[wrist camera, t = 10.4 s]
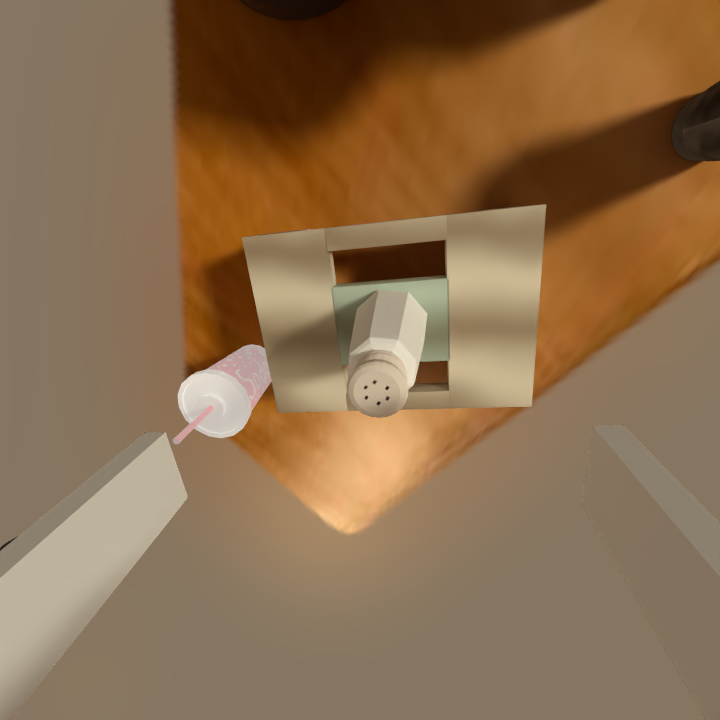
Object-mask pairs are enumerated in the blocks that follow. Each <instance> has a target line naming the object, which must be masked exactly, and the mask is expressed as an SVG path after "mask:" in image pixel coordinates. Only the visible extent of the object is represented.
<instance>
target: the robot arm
mask: <svg viewBox="0 0 720 720" xmlns="http://www.w3.org/2000/svg"><path fill="white" fill-rule="evenodd" d="M241 1H242V2H243V3H244V4H246V5H247V6H249V7H250V8H252V9H254V10H256V11H258V12H260V13H262V14H265V15H268V16H270V17H274V18H279V19H286V20H298V19H306V18H311V17H315V16H318V15H320V14H323V13H325V12H327V11H329V10H331V9H333V8H335V7H336V6H338V5H339V4H341V3H342V2H344V1H345V0H241ZM187 498H188V496H187V493H186V490H185V488H184V485H183V482H182V479H181V476H180V473H179V470H178V468H177V464H176V462H175V459H174V456H173V453H172V450H171V447H170V444H169V441H168V438H167V435H166V433H165V432H154V433H153V432H149V433H144V434H143V435H141V436H140V437H139V438H138V439H137V440H135V441H134V442H133V443H132V444H131V445H129V446H128V447H127V448H126V449H124V450H123V451H122V452H121V453H119V454H118V455H117V456H116V457H115V458H113V459H112V460H111V461H110V462H109V463H107V464H106V465H105V466H104V467H102V468H101V469H100V470H99V471H97V472H96V473H95V474H94V475H93V476H91V477H90V478H89V479H88V480H86V481H85V482H84V483H83V484H82V485H80V486H79V487H78V488H77V489H76V490H74V491H73V492H72V493H71V494H69V495H68V496H67V497H66V498H64V499H63V500H62V501H61V502H60V503H58V504H57V505H56V506H55V507H53V508H52V509H51V510H50V511H49V512H47V513H46V514H45V515H44V516H42V517H41V518H40V519H39V520H37V521H36V522H35V523H34V524H33V525H31V526H30V527H29V528H28V529H27V530H25V531H24V532H23V533H22V534H20V535H19V536H17V537H16V538H14V539H12V540H11V541H9V542H7V543H6V544H4V545H3V546H2V547H1V548H0V720H12V718H13V717H14V716H15V714H16V713H17V712H18V710H19V709H20V708H21V707H22V706H23V704H24V703H25V702H26V701H27V699H28V698H29V697H30V695H31V694H32V693H33V692H34V691H35V689H36V688H37V687H38V686H39V684H40V683H41V681H42V680H43V679H44V678H45V677H46V675H47V674H48V673H49V672H50V670H51V669H52V668H53V667H54V665H55V664H56V663H57V662H58V660H59V659H60V658H61V657H62V655H63V654H64V653H65V652H66V650H67V649H68V648H69V647H70V645H71V644H72V643H73V641H74V640H75V639H76V638H77V636H78V635H79V634H80V632H81V631H82V630H83V629H84V628H85V626H86V625H87V624H88V623H89V621H90V620H91V619H92V618H93V616H94V615H95V614H96V612H97V611H98V610H99V609H100V607H101V606H102V605H103V604H104V602H105V601H106V600H107V598H108V597H109V596H110V595H111V594H112V592H113V591H114V590H115V589H116V587H117V586H118V585H119V583H120V582H121V581H122V580H123V579H124V577H125V576H126V575H127V573H128V572H129V571H130V570H131V568H132V567H133V566H134V564H135V563H136V562H137V561H138V560H139V558H140V557H141V556H142V554H143V553H144V552H145V551H146V550H147V548H148V547H149V546H150V545H151V543H152V542H153V541H154V539H155V538H156V537H157V536H158V534H159V533H160V532H161V531H162V529H163V528H164V527H165V526H166V524H167V523H168V522H169V521H170V519H171V518H172V517H173V516H174V514H175V513H176V512H177V511H178V509H179V508H180V507H181V505H182V504H183V503H184V502H185V500H186V499H187ZM581 505H582V506H583V508H584V510H585V511H586V513H587V515H588V517H589V519H590V520H591V522H592V524H593V526H594V527H595V529H596V531H597V532H598V534H599V536H600V538H601V540H602V541H603V543H604V545H605V546H606V548H607V550H608V552H609V554H610V555H611V557H612V559H613V560H614V562H615V564H616V566H617V567H618V569H619V571H620V573H621V574H622V576H623V578H624V580H625V581H626V583H627V585H628V587H629V588H630V590H631V592H632V594H633V595H634V597H635V599H636V600H637V602H638V604H639V606H640V608H641V609H642V611H643V613H644V614H645V616H646V618H647V620H648V621H649V623H650V625H651V627H652V628H653V630H654V632H655V634H656V635H657V637H658V639H659V641H660V642H661V644H662V646H663V648H664V649H665V651H666V653H667V654H668V656H669V658H670V660H671V662H672V663H673V665H674V667H675V669H676V670H677V672H678V674H679V675H680V677H681V679H682V681H683V682H684V684H685V686H686V687H687V689H688V691H689V693H690V694H691V696H692V698H693V700H694V702H695V703H696V705H697V707H698V709H699V710H700V712H701V714H702V716H703V717H704V719H705V720H720V523H719V522H718V521H717V520H716V519H715V518H714V517H713V516H712V515H711V514H710V513H709V512H708V511H707V510H706V509H705V508H704V507H703V506H702V505H701V504H700V503H699V501H698V500H697V499H696V498H695V497H694V496H693V495H692V494H691V493H690V492H689V491H688V490H687V489H686V488H685V487H684V486H683V485H682V484H681V483H680V482H679V481H678V480H677V479H676V478H675V477H674V476H673V475H672V474H671V473H670V472H669V471H668V470H667V469H666V468H665V467H664V466H663V465H662V464H661V463H660V462H659V461H658V460H657V459H656V458H655V457H654V456H653V455H652V454H651V453H650V452H649V451H648V450H647V449H646V448H645V447H644V446H643V445H642V444H641V443H640V442H639V441H638V440H637V439H636V438H635V437H634V436H633V435H632V434H631V433H630V431H629V430H628V429H626V428H625V426H624V425H609V426H593V427H592V434H591V441H590V448H589V455H588V461H587V468H586V475H585V482H584V489H583V496H582V502H581Z"/></svg>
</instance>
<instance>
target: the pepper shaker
mask: <svg viewBox="0 0 720 720" xmlns="http://www.w3.org/2000/svg"><path fill="white" fill-rule="evenodd" d="M426 322H427V313H426V312H425V310H424V309H423V308H422V307H421V306H420V304H419V303H418V302H417V301H416V300H415V299H414V297H413V296H412V295H411V294H410V293H409V292H408V291H394V290H379V289H378V290H377V291H376V292H375V293H374V294H373V295H372V296H370V297H369V298H368V299H367V300H366V301H365V302H364V303H363V304H361V305H360V306H359V307H358V308H357V311H356V316H355V322H354V327H353V333H352V338H351V344H350V351H349V368H348V382H347V394H348V398H349V400H350V401H351V403H352V405H353V406H354V407H355V408H356V409H357V410H358V411H360V412H361V413H363V414H365V415H368V416H371V417H378V418H380V417H387V416H390V415H393V414H395V413H396V412H398V411H399V410H400V409H401V408H402V407H403V406H404V404H405V403H406V400H407V398H408V389H409V388H411V387H412V386H413V385H414V382H415V379H416V375H417V371H418V366H419V362H420V358H421V353H422V349H423V345H424V339H425V331H426Z"/></svg>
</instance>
